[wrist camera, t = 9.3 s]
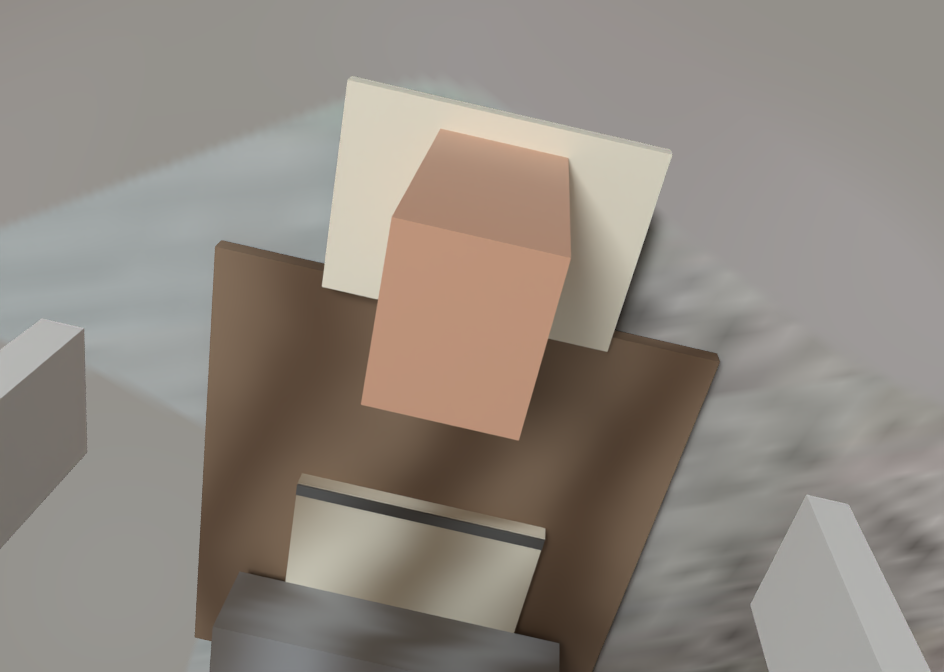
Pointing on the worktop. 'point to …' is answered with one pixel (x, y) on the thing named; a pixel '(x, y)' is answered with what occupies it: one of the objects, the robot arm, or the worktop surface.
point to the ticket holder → (417, 493)
